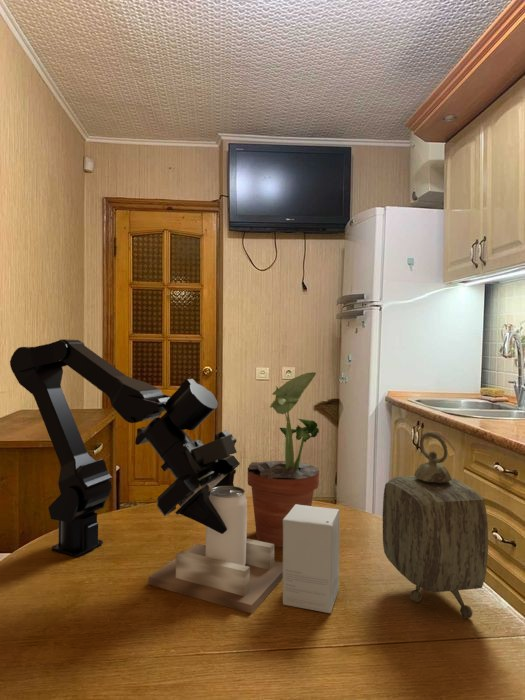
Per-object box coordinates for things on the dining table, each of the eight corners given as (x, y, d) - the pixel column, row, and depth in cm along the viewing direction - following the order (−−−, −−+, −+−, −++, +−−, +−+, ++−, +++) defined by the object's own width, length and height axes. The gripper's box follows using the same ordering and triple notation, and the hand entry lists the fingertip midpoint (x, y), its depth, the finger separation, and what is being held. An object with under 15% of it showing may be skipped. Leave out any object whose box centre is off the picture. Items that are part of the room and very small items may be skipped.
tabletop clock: (486, 625, 65) (490, 442, 65) (426, 631, 63) (430, 443, 63) (428, 574, 79) (432, 424, 79) (378, 579, 77) (381, 425, 77)
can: (250, 572, 74) (252, 496, 74) (209, 577, 72) (211, 498, 72) (240, 554, 81) (242, 483, 80) (202, 558, 79) (203, 486, 79)
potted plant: (336, 534, 96) (339, 359, 95) (289, 558, 84) (293, 360, 84) (276, 514, 106) (279, 357, 106) (227, 534, 94) (230, 357, 94)
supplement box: (340, 590, 74) (341, 508, 74) (330, 615, 67) (332, 525, 67) (293, 581, 76) (295, 502, 76) (280, 605, 69) (282, 518, 69)
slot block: (148, 584, 74) (148, 553, 74) (197, 550, 87) (197, 523, 87) (251, 613, 67) (252, 579, 67) (288, 571, 79) (289, 542, 79)
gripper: (176, 425, 69) (244, 513, 65) (231, 410, 86) (287, 478, 82) (130, 473, 72) (192, 559, 68) (191, 448, 89) (244, 516, 85)
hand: (233, 524), depth 76 cm, fingers closed on can, 6 cm apart
